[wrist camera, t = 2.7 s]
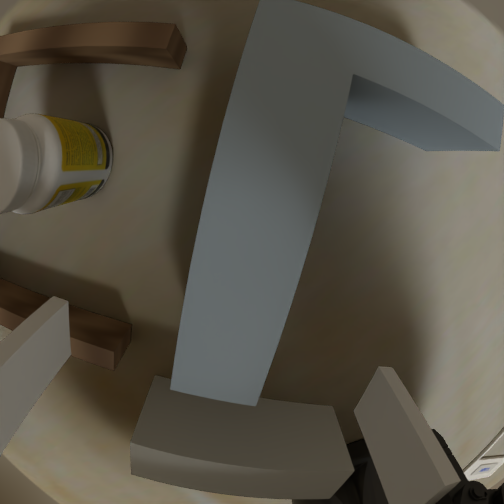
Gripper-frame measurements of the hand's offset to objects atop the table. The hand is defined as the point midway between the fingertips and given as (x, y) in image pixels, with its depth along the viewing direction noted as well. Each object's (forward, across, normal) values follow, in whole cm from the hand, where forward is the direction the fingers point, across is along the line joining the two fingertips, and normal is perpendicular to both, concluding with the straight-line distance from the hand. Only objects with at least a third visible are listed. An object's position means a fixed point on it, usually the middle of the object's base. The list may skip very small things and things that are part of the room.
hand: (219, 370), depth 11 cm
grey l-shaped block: (+8, -4, -6) cm, 11 cm away
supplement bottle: (+8, +11, -6) cm, 15 cm away
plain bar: (+8, -3, +10) cm, 13 cm away
